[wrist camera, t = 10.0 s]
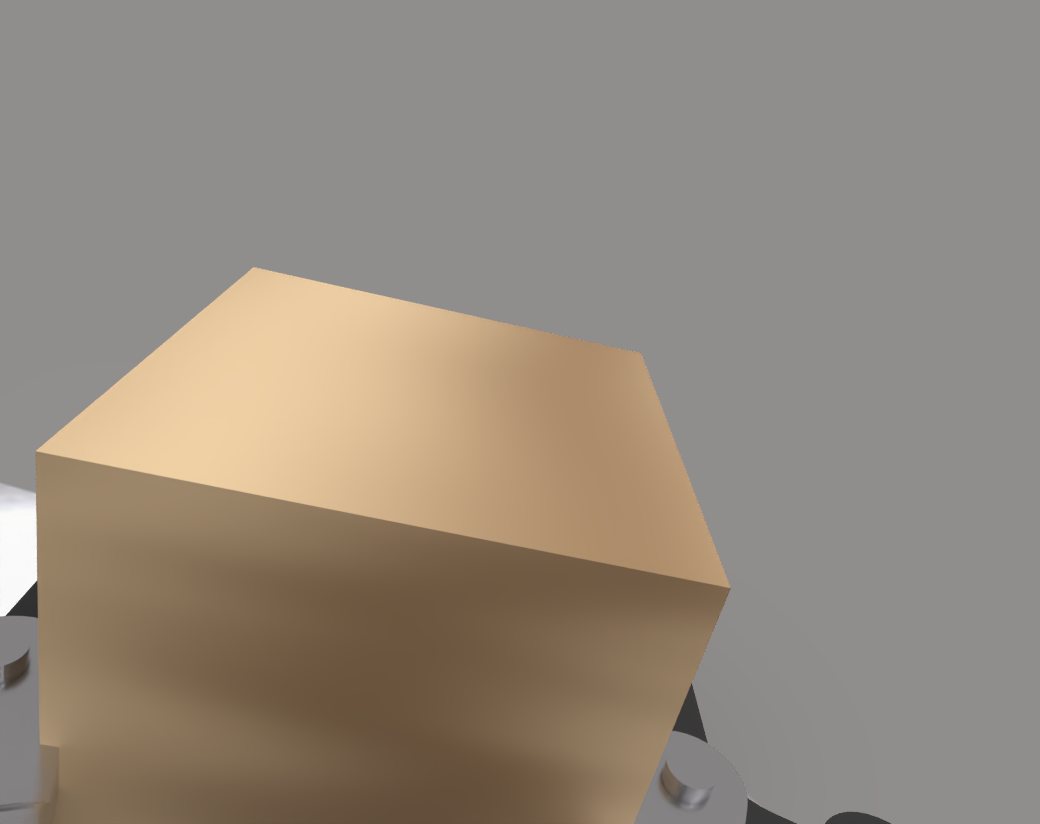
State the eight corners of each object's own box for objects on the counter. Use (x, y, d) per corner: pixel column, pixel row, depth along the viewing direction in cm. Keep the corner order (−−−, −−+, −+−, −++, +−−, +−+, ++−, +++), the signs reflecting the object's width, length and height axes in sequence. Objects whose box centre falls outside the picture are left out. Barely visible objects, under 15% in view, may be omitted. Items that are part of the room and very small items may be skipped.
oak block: (45, 1189, 10) (36, 451, 6) (198, 820, 14) (253, 266, 10) (463, 1237, 10) (730, 587, 6) (481, 865, 15) (641, 353, 11)
